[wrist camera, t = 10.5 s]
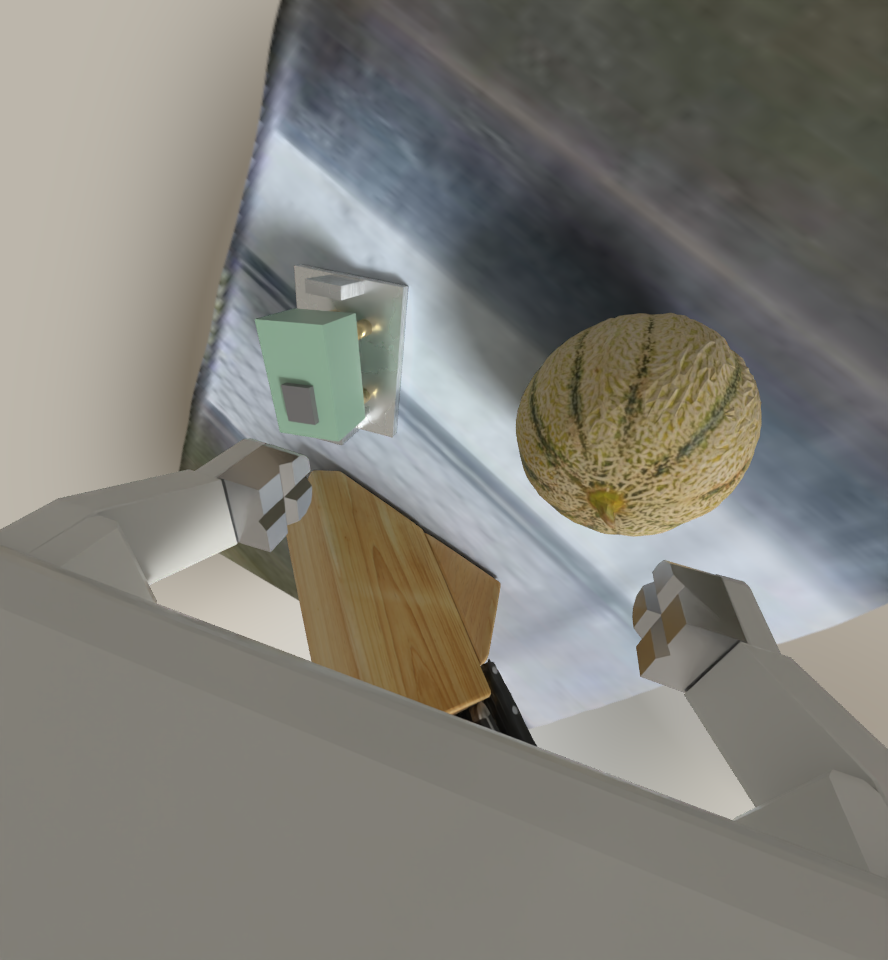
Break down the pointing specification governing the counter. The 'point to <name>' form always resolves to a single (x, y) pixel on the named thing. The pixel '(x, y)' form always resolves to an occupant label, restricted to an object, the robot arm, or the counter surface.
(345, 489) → the knife block
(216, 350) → the counter surface
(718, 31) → the counter surface
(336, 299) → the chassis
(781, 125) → the counter surface
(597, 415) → the cantaloupe
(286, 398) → the green box
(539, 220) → the counter surface
